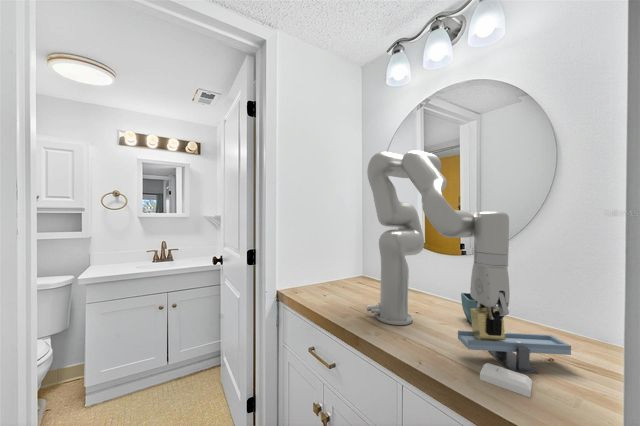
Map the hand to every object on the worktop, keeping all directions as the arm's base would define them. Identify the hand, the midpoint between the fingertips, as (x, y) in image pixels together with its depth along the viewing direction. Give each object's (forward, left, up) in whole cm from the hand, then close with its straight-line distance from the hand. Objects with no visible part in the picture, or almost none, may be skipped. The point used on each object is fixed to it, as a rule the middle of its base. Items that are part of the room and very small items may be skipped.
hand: (488, 330), depth 69 cm
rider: (0, 0, -2) cm, 2 cm away
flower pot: (+11, +26, -8) cm, 29 cm away
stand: (+6, 0, -8) cm, 9 cm away
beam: (+6, 0, -3) cm, 6 cm away
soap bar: (-2, -9, -8) cm, 13 cm away
